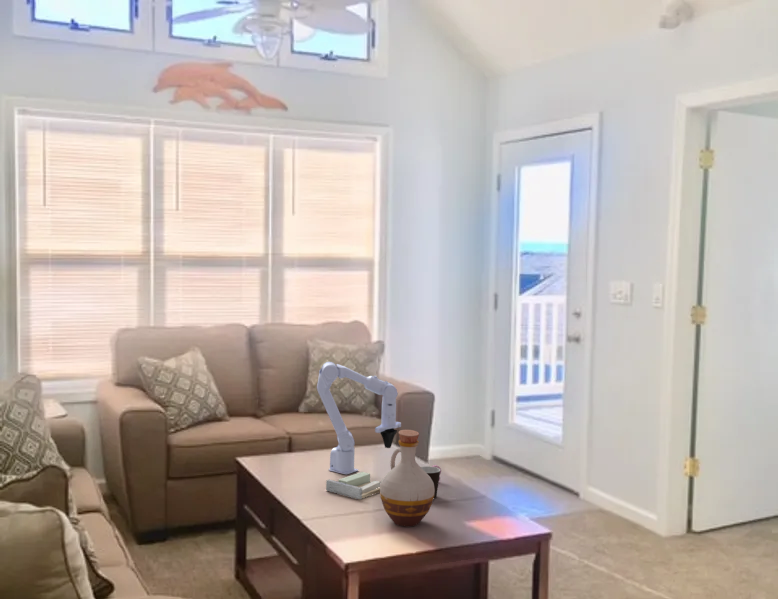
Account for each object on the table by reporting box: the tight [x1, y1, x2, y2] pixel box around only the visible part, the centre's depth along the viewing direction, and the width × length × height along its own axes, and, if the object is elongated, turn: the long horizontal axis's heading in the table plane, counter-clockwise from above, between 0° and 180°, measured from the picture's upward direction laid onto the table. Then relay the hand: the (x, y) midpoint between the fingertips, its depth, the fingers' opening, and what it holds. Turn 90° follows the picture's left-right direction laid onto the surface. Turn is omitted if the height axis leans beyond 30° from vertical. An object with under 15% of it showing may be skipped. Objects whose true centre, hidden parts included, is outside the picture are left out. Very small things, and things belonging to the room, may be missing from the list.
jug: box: [379, 429, 435, 528], centre depth 264 cm, size 20×18×30 cm
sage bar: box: [337, 471, 371, 486], centre depth 302 cm, size 4×14×4 cm, turn 143°
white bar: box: [360, 480, 381, 494], centre depth 296 cm, size 2×14×2 cm, turn 149°
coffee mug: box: [420, 465, 441, 499], centre depth 292 cm, size 12×9×10 cm
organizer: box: [325, 479, 380, 500], centre depth 297 cm, size 16×16×4 cm
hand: (387, 447), depth 324 cm, fingers closed
